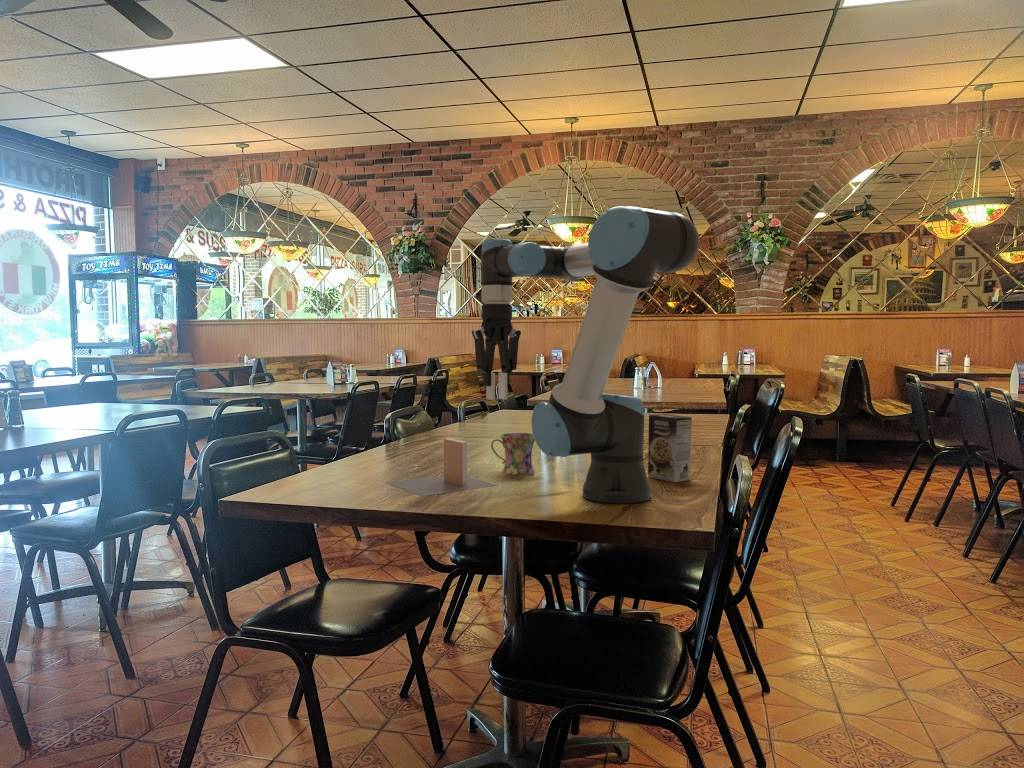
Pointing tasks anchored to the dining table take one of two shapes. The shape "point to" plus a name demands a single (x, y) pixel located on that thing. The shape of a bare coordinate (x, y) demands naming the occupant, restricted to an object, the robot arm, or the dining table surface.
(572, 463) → the dining table surface
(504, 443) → the mug
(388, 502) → the dining table surface
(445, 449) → the tile
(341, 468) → the dining table surface
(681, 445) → the cookie box
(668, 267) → the robot arm
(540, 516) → the dining table surface
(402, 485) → the slate board
